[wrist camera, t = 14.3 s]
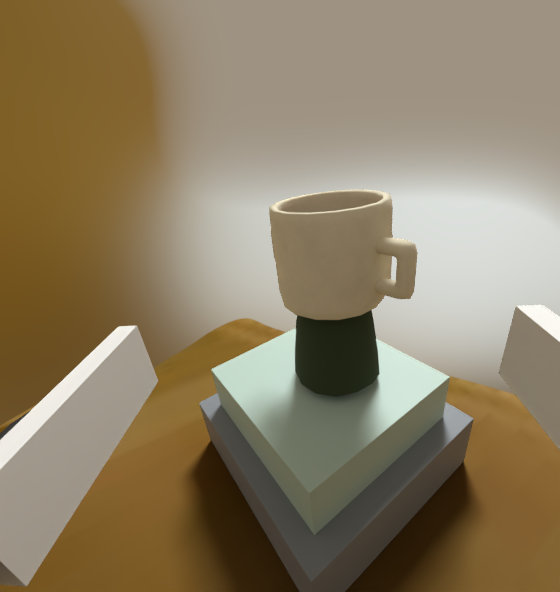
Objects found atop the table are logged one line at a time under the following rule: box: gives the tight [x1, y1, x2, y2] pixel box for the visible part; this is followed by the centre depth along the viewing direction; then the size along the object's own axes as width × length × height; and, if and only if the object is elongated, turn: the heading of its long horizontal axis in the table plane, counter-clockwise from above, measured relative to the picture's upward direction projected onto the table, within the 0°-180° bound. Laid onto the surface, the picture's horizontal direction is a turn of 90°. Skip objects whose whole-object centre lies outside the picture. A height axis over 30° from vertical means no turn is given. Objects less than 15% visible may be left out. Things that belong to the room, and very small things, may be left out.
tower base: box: [199, 328, 474, 592], centre depth 26 cm, size 16×16×9 cm
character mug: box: [269, 190, 417, 396], centre depth 21 cm, size 11×7×13 cm, turn 42°
